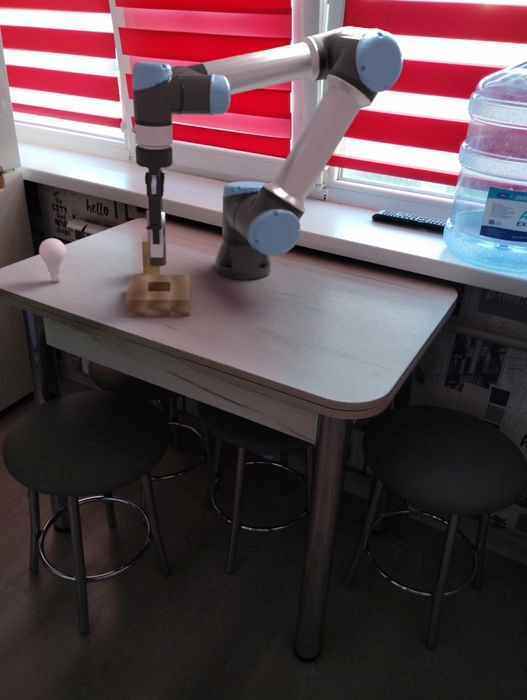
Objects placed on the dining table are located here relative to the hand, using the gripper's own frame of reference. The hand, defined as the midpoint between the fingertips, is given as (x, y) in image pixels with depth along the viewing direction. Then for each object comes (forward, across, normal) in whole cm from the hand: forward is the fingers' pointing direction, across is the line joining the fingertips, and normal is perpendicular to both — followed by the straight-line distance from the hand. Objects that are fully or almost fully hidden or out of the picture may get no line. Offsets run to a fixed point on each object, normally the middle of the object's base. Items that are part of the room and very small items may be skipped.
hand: (157, 252), depth 133 cm
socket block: (+12, 0, 0) cm, 12 cm away
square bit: (+12, -16, -2) cm, 20 cm away
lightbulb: (+13, -12, -25) cm, 31 cm away
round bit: (+3, 0, 0) cm, 3 cm away
